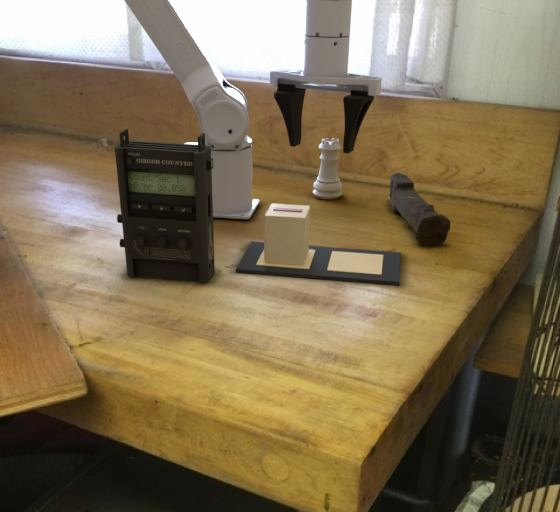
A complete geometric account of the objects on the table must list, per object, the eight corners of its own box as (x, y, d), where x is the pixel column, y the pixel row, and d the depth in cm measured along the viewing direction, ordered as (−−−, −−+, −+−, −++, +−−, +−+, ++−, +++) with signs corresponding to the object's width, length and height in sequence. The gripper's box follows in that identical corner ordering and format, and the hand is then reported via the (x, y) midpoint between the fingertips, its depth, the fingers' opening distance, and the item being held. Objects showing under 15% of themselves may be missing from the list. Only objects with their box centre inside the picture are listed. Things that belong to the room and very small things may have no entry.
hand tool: (448, 247, 85) (454, 210, 83) (416, 247, 85) (421, 210, 83) (410, 201, 102) (413, 169, 99) (383, 201, 101) (386, 169, 99)
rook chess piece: (322, 189, 106) (325, 135, 102) (348, 194, 104) (351, 139, 100) (306, 196, 103) (308, 140, 99) (332, 201, 100) (335, 145, 96)
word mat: (235, 272, 77) (235, 268, 77) (251, 244, 85) (251, 240, 85) (399, 285, 75) (399, 281, 75) (400, 255, 83) (400, 251, 82)
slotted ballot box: (264, 262, 79) (264, 214, 76) (270, 248, 82) (271, 202, 80) (303, 265, 78) (305, 217, 75) (308, 251, 82) (310, 204, 79)
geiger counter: (114, 279, 75) (98, 135, 67) (129, 264, 79) (116, 126, 71) (209, 288, 73) (204, 141, 66) (219, 271, 77) (215, 131, 70)
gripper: (392, 36, 86) (382, 148, 93) (286, 30, 92) (284, 136, 99) (374, 41, 81) (365, 159, 88) (262, 34, 86) (262, 146, 93)
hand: (321, 148), depth 93 cm, fingers open, 7 cm apart
